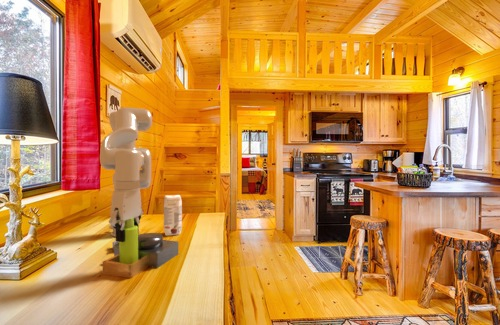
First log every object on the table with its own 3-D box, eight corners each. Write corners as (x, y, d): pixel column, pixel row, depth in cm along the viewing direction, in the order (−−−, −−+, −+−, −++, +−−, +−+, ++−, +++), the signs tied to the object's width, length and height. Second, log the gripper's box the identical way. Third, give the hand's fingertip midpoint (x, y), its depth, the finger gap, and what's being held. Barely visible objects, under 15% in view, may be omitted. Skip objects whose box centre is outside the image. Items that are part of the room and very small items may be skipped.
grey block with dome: (93, 272, 89) (93, 248, 89) (139, 249, 112) (139, 230, 111) (140, 279, 85) (140, 254, 85) (178, 254, 107) (178, 233, 107)
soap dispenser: (120, 262, 95) (119, 205, 94) (140, 261, 95) (140, 205, 94) (113, 269, 89) (112, 209, 88) (134, 269, 89) (134, 209, 89)
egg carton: (113, 254, 107) (113, 243, 107) (111, 248, 113) (111, 238, 113) (142, 249, 113) (142, 239, 113) (138, 244, 119) (138, 234, 119)
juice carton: (182, 235, 132) (182, 196, 132) (163, 236, 130) (164, 197, 129) (180, 230, 140) (180, 194, 139) (163, 232, 137) (163, 195, 136)
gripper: (135, 182, 101) (135, 230, 101) (97, 188, 84) (98, 245, 84) (152, 183, 99) (152, 232, 99) (118, 189, 82) (118, 247, 83)
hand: (127, 237), depth 92 cm, fingers closed on soap dispenser, 5 cm apart
